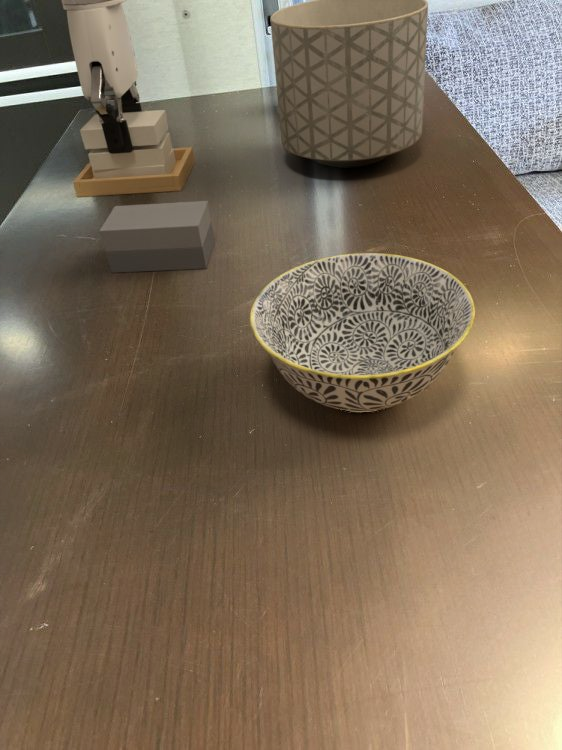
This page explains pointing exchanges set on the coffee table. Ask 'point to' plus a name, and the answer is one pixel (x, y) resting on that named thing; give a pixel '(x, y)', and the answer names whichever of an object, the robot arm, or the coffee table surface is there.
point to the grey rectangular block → (158, 237)
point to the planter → (350, 78)
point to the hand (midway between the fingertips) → (128, 141)
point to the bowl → (362, 327)
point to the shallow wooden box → (137, 179)
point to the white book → (140, 125)
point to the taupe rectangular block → (134, 161)
